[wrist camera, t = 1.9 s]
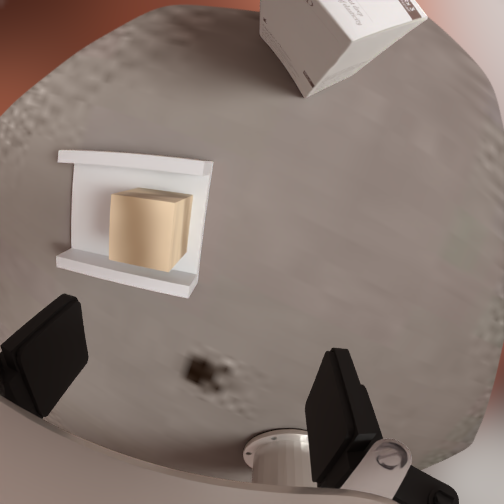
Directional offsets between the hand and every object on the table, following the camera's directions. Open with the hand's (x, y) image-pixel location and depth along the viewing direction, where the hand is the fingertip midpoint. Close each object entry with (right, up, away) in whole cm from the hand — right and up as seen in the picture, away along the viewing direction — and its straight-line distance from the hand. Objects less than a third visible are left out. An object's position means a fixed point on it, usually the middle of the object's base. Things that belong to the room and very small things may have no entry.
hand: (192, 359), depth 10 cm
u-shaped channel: (-10, +8, +18) cm, 22 cm away
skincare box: (+8, +22, +13) cm, 27 cm away
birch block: (-6, +7, +17) cm, 20 cm away
